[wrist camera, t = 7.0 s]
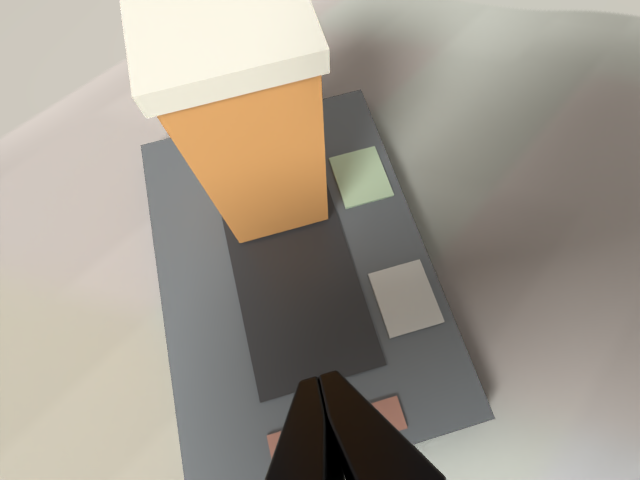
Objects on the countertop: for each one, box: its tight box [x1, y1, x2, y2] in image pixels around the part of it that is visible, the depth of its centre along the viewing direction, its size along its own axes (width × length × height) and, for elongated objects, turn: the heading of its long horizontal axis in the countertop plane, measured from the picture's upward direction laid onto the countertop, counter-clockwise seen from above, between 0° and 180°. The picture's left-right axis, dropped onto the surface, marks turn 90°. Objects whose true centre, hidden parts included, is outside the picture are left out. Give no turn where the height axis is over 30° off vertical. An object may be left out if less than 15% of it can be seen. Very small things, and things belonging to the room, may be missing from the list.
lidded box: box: [120, 0, 330, 243], centre depth 12 cm, size 4×4×8 cm
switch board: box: [141, 90, 495, 480], centre depth 15 cm, size 14×10×1 cm
